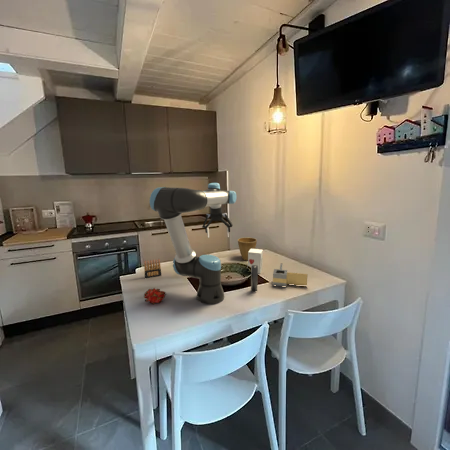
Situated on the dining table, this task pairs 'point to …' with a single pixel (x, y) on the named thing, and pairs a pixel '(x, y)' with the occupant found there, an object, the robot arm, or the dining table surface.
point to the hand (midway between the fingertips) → (218, 236)
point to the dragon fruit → (154, 295)
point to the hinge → (288, 277)
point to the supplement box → (255, 258)
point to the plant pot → (246, 246)
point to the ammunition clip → (152, 269)
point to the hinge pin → (254, 277)
